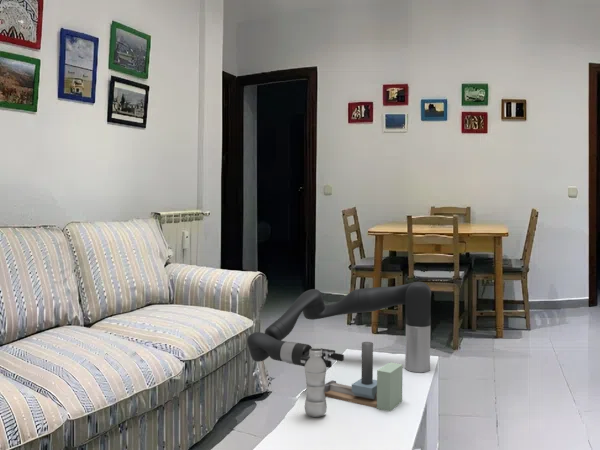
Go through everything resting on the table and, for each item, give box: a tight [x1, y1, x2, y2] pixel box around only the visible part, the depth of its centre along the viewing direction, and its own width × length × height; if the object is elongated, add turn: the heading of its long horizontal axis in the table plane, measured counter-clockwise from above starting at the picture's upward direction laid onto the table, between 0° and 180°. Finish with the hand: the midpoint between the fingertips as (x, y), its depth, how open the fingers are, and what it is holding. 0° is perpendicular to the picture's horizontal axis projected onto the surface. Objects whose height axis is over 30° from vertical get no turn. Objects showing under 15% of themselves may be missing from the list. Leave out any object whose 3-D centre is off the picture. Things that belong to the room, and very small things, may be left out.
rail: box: [324, 380, 377, 409], centre depth 183 cm, size 9×20×3 cm, turn 58°
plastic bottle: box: [304, 347, 328, 418], centre depth 167 cm, size 6×7×20 cm
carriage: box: [351, 341, 377, 399], centre depth 180 cm, size 8×7×17 cm
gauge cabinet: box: [376, 361, 404, 412], centre depth 176 cm, size 10×5×12 cm, turn 148°
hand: (337, 361), depth 186 cm, fingers open, 8 cm apart
